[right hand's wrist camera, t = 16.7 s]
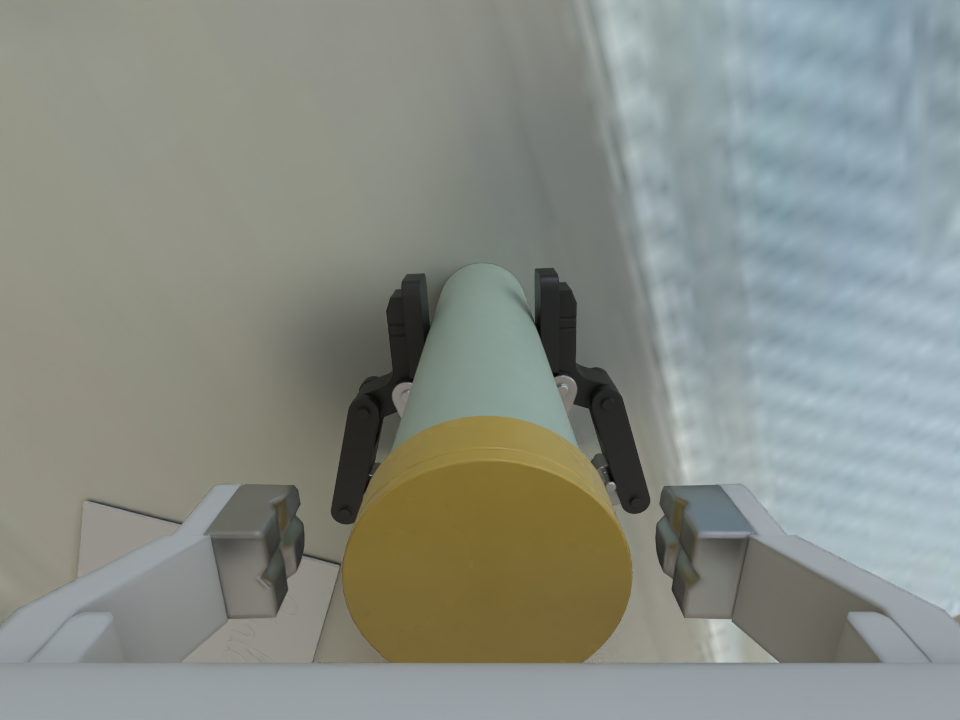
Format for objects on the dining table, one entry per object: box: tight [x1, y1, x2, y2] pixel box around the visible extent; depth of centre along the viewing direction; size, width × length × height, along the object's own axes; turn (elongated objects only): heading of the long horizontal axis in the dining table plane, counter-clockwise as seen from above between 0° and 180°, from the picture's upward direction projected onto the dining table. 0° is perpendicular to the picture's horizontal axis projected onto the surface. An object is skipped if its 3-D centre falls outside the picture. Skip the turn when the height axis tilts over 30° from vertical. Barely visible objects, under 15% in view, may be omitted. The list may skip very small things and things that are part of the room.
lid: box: [342, 416, 632, 663], centre depth 10 cm, size 5×5×2 cm
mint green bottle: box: [391, 263, 579, 452], centre depth 18 cm, size 4×4×18 cm
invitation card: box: [77, 501, 340, 663], centre depth 35 cm, size 21×1×15 cm
